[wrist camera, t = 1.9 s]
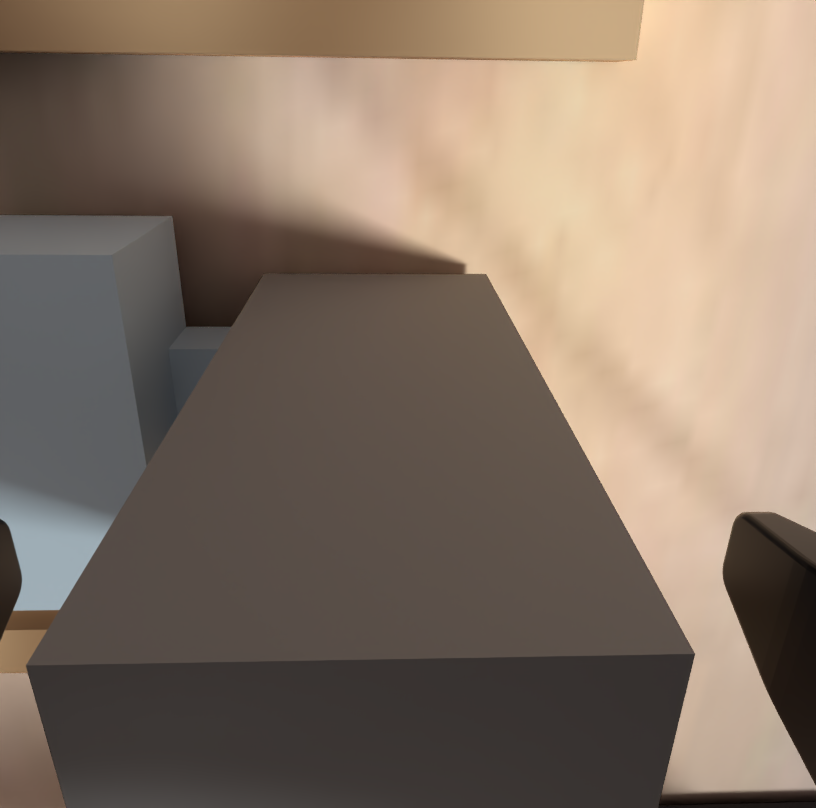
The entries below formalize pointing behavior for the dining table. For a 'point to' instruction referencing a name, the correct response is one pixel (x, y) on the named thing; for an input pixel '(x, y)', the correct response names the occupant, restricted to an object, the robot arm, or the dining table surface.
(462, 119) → the dining table surface
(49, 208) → the dining table surface
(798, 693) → the robot arm
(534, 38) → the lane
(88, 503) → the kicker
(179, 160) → the dining table surface
